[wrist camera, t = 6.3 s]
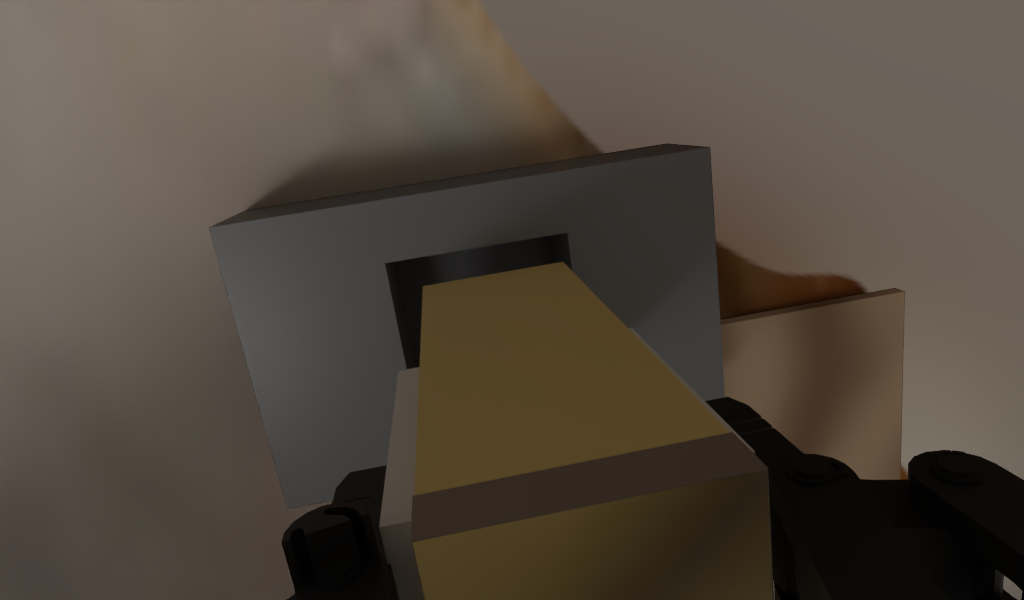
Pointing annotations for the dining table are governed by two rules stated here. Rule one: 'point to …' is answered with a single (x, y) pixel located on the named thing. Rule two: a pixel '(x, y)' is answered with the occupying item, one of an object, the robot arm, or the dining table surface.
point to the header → (448, 257)
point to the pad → (825, 376)
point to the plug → (572, 457)
